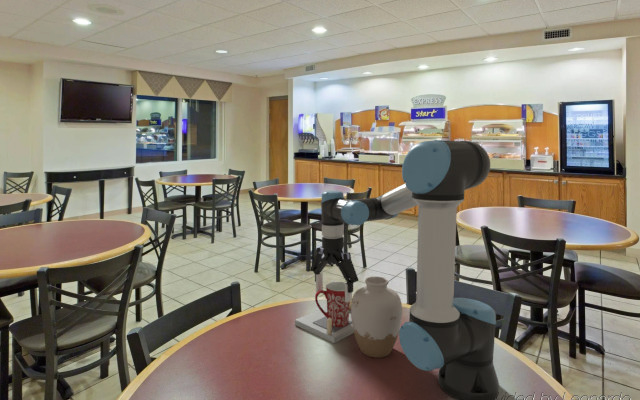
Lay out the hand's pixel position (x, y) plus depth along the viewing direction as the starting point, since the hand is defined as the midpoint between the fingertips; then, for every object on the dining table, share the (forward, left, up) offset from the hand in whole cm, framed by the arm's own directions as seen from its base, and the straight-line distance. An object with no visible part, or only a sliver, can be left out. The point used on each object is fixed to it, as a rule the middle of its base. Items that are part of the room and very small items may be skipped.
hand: (333, 296), depth 133 cm
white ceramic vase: (-19, +1, -12) cm, 23 cm away
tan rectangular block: (+2, -13, -10) cm, 17 cm away
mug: (0, 0, -10) cm, 10 cm away
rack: (+2, -4, -12) cm, 13 cm away
